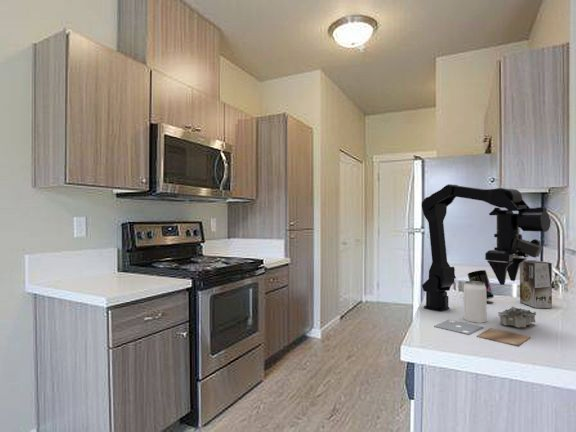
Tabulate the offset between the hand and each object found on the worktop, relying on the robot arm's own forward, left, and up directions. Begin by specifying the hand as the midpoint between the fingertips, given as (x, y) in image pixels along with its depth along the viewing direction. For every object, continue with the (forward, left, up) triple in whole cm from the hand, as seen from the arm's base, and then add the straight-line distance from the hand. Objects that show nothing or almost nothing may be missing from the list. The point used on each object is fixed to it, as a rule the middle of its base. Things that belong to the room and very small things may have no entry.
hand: (507, 282), depth 110 cm
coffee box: (-2, +36, -13) cm, 38 cm away
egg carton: (+4, +4, -14) cm, 15 cm away
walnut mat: (+3, -13, -13) cm, 19 cm away
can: (-9, -1, -13) cm, 16 cm away
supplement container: (-18, +28, -13) cm, 36 cm away
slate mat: (-9, -13, -13) cm, 20 cm away
